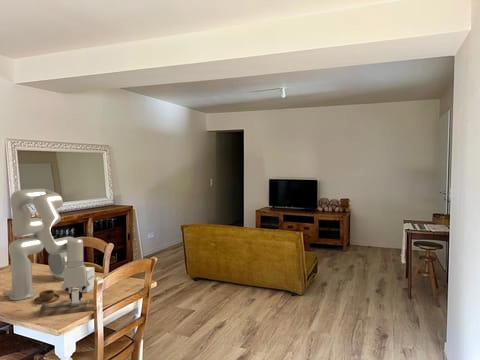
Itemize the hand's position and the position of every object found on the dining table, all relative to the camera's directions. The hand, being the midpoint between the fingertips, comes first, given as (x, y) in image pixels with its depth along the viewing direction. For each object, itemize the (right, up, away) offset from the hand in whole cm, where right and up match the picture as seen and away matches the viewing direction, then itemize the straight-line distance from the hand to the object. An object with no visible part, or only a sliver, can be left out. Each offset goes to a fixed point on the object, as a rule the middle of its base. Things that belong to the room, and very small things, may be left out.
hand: (75, 299), depth 175 cm
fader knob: (0, -2, 0) cm, 2 cm away
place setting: (-18, -5, +10) cm, 21 cm away
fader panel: (-2, -5, -1) cm, 5 cm away
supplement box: (-7, -4, +26) cm, 28 cm away
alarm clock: (-32, -3, +48) cm, 57 cm away
